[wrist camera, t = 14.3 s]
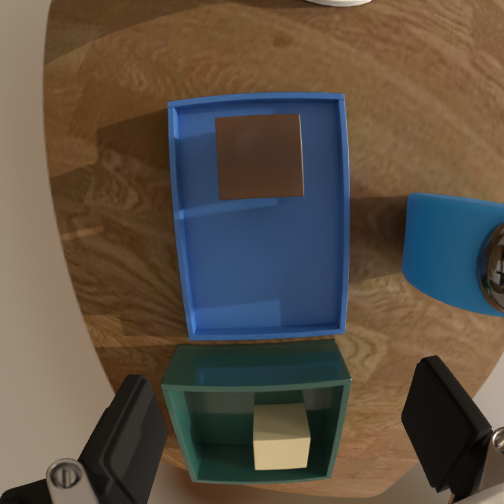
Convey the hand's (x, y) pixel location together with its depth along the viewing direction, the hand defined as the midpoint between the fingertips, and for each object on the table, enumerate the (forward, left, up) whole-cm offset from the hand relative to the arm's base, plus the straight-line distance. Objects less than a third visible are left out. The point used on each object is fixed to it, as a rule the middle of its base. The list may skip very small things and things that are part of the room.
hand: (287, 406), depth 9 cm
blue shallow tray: (-4, -1, -16) cm, 16 cm away
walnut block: (-9, -1, -15) cm, 17 cm away
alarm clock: (-3, +15, -16) cm, 22 cm away
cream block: (+16, 0, -15) cm, 22 cm away
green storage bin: (+14, -2, -16) cm, 21 cm away
